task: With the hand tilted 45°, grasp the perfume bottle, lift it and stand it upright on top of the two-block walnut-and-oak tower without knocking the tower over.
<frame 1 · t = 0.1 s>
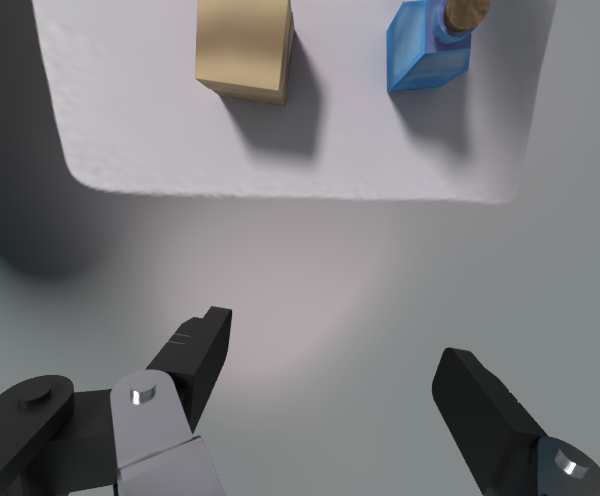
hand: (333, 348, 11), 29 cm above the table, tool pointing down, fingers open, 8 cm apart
tower bottom block: (255, 63, 35), on the table, touching tower top block
tower top block: (248, 52, 31), point 4 cm above the table, touching tower bottom block
perfume bottle: (413, 60, 34), on the table
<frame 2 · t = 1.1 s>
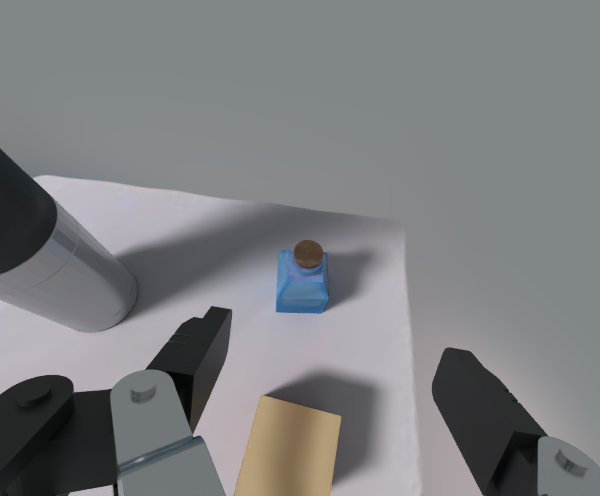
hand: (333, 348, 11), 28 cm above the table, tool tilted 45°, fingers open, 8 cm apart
tower top block: (288, 448, 30), point 4 cm above the table, touching tower bottom block
perfume bottle: (298, 291, 42), on the table
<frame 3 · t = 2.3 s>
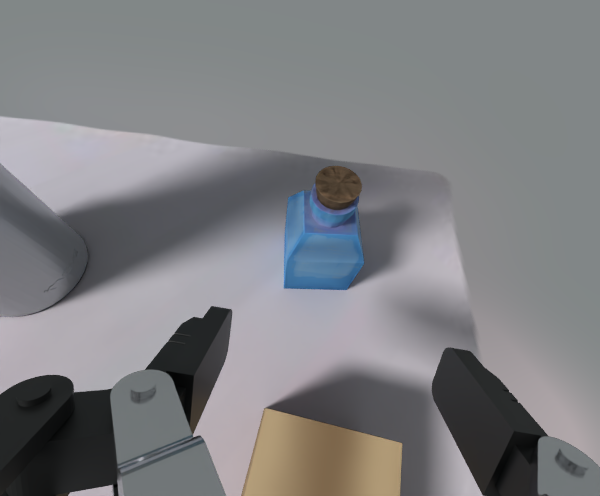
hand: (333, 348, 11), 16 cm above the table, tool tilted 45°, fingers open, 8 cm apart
tower top block: (310, 494, 18), point 4 cm above the table, touching tower bottom block
perfume bottle: (314, 261, 31), on the table
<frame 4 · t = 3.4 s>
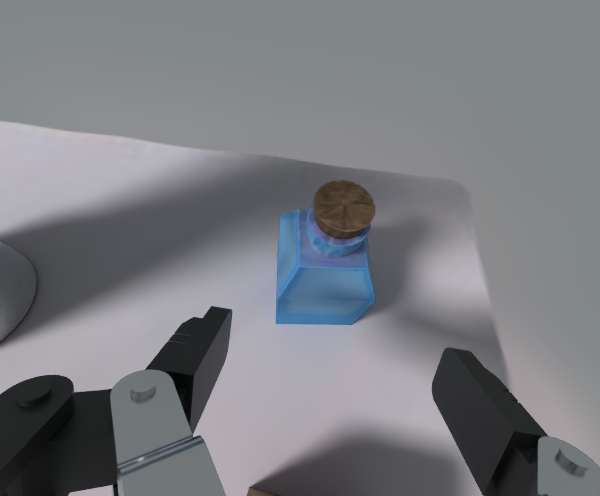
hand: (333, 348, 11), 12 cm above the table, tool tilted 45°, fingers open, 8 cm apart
perfume bottle: (312, 288, 26), on the table
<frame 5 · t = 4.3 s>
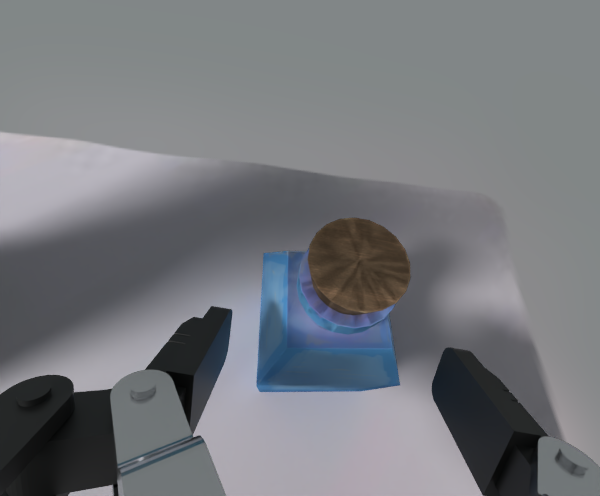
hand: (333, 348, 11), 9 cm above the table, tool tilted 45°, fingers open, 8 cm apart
perfume bottle: (309, 339, 20), on the table
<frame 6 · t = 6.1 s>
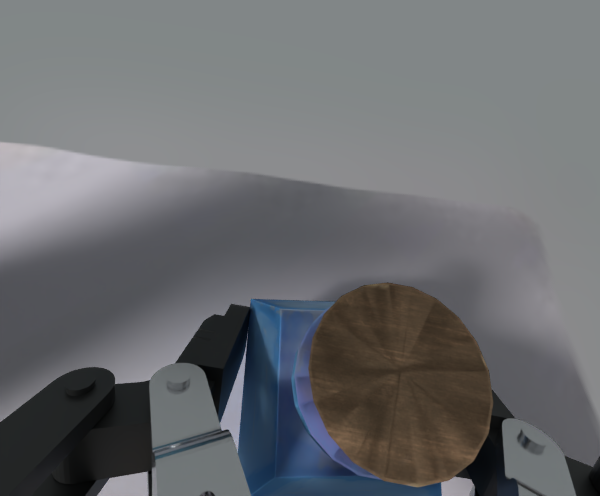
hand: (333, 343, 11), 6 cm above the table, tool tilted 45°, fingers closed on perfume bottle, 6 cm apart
perfume bottle: (311, 395, 16), on the table, touching gripper
when the fingers open (15 cm above the table, at t = 12.3 s): perfume bottle drops 2 cm, resting on tower top block.
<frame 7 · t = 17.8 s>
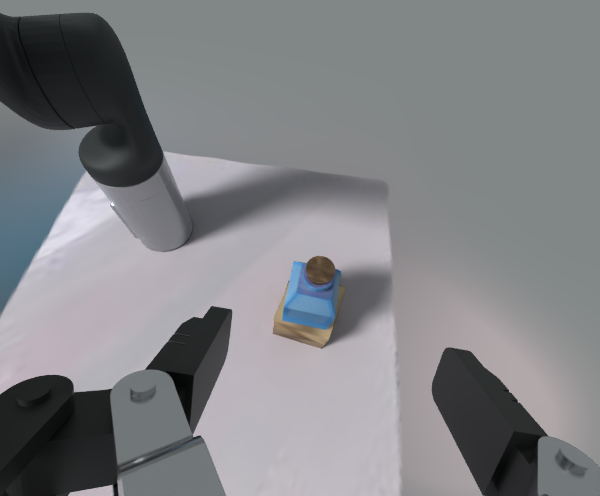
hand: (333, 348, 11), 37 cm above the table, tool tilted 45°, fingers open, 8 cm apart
tower bottom block: (303, 317, 49), on the table, touching tower top block
tower top block: (308, 309, 46), point 4 cm above the table, touching perfume bottle, tower bottom block
perfume bottle: (307, 304, 42), point 7 cm above the table, touching tower top block
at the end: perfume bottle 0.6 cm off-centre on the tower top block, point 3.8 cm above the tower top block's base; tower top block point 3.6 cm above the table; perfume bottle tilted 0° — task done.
